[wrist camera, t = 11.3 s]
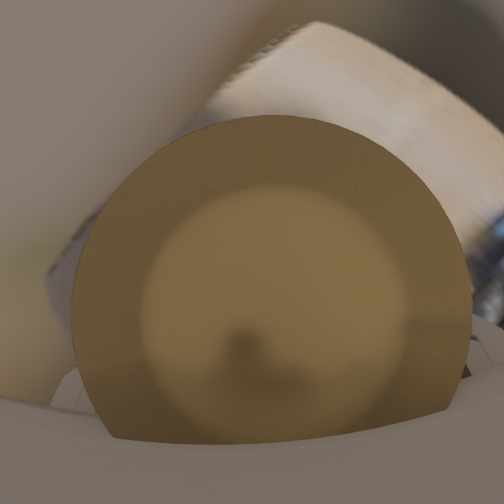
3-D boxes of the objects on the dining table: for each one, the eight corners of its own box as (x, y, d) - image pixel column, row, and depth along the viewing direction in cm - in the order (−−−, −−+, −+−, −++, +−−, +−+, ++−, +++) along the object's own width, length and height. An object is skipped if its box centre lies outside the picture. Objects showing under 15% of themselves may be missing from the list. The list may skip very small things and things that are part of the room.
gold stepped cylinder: (294, 420, 14) (288, 567, 3) (192, 337, 15) (22, 322, 5) (378, 314, 14) (524, 261, 4) (274, 236, 16) (236, 69, 6)
